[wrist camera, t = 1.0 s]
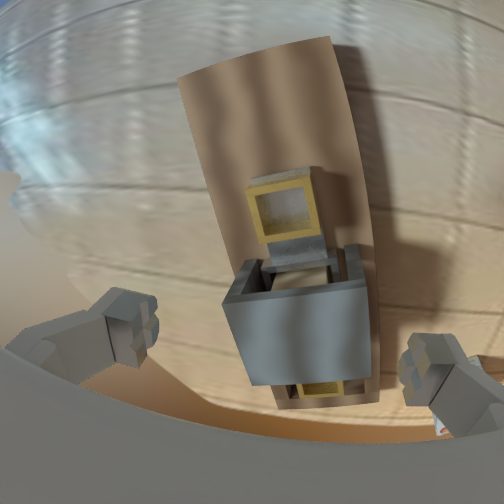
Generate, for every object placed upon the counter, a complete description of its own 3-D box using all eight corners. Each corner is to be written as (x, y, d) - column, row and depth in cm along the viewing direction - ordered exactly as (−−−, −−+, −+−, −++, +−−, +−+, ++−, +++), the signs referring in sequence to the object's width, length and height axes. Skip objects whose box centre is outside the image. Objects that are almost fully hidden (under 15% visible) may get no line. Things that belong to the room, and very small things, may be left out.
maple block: (326, 259, 37) (326, 284, 32) (335, 319, 40) (335, 348, 35) (278, 266, 39) (270, 291, 33) (292, 324, 42) (286, 353, 36)
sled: (319, 163, 32) (319, 169, 28) (351, 376, 43) (351, 396, 40) (243, 179, 35) (233, 187, 31) (296, 381, 46) (293, 401, 42)
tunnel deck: (328, 44, 30) (331, 4, 17) (377, 385, 49) (382, 449, 36) (190, 81, 35) (129, 70, 22) (281, 393, 54) (268, 454, 42)
